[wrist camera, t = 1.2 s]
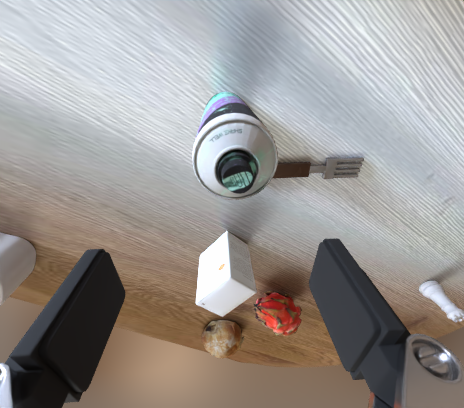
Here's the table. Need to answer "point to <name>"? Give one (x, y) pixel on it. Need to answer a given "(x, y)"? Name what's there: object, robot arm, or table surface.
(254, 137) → the spray can
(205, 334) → the bread roll
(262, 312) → the dragon fruit
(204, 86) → the table surface
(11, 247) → the lumpy-topped squat cylinder
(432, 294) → the rook chess piece
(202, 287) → the small box
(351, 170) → the fork
